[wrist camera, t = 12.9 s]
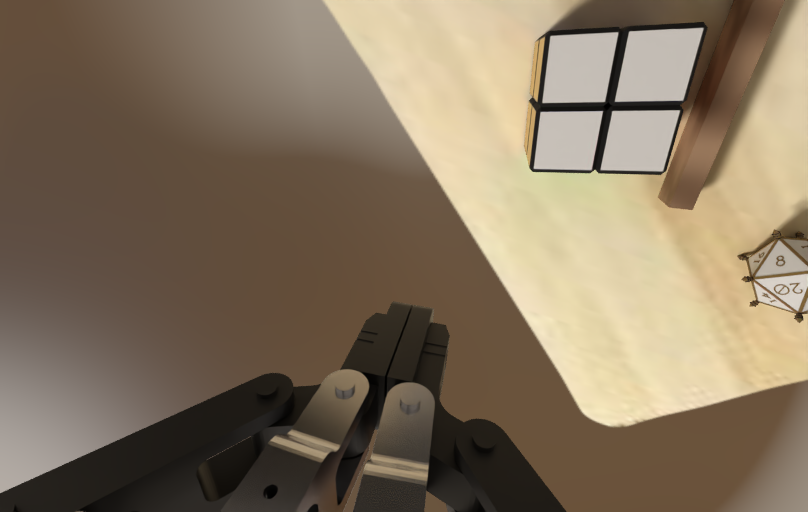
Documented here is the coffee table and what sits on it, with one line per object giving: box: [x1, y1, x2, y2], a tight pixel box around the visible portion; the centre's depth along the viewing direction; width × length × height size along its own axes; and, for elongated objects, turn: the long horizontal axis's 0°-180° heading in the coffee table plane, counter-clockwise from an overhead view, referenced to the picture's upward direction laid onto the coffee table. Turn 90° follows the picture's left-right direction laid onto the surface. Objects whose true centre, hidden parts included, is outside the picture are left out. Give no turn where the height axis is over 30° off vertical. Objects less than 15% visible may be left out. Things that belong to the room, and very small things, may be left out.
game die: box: [738, 230, 808, 323], centre depth 35 cm, size 9×8×10 cm
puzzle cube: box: [524, 22, 708, 175], centre depth 31 cm, size 10×10×10 cm
